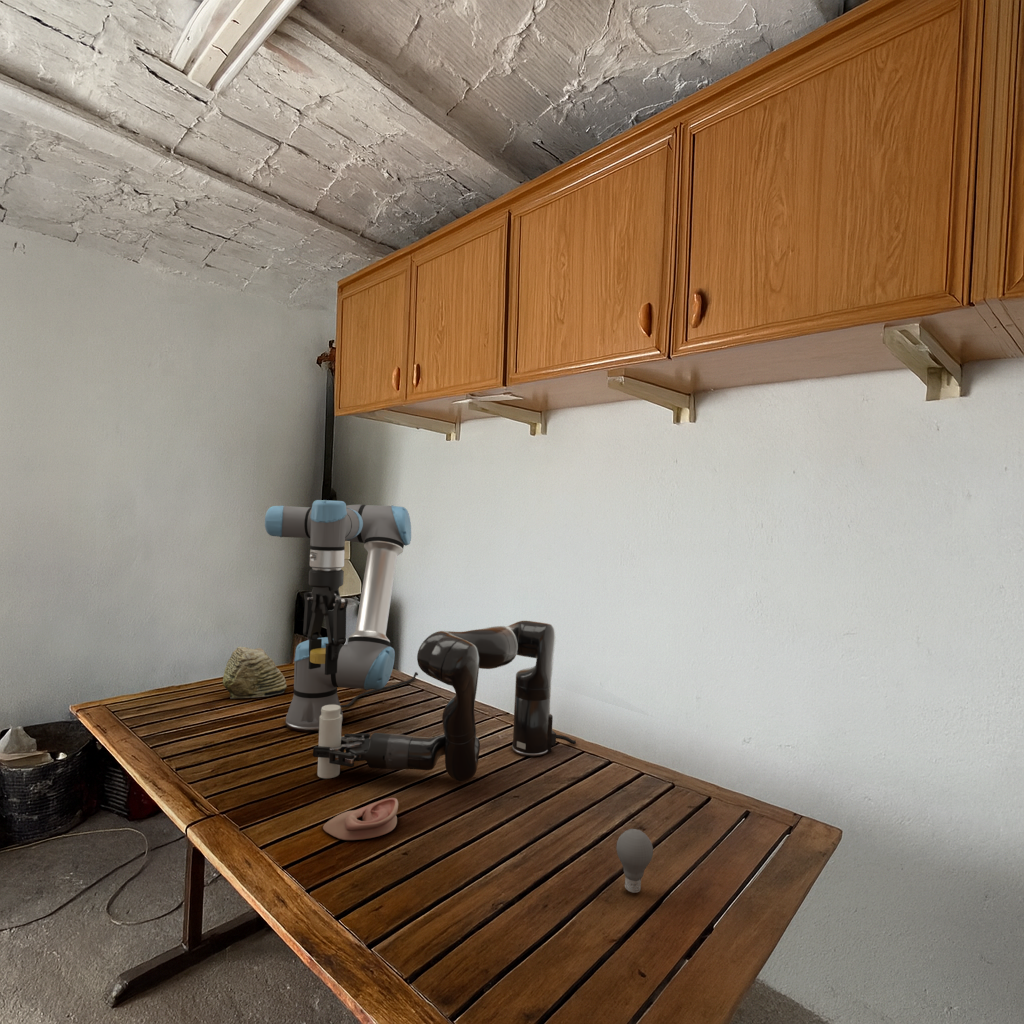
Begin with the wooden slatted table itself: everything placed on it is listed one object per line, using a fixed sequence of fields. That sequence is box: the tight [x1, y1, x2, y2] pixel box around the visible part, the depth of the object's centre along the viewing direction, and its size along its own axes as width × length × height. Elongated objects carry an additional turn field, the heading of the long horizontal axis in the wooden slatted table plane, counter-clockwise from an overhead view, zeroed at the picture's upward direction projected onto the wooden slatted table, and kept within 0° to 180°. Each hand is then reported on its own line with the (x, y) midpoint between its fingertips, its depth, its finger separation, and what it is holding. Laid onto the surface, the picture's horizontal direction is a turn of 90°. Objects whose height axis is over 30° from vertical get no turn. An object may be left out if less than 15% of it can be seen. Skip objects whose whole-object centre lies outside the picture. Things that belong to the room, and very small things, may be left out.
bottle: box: [316, 705, 343, 779], centre depth 145 cm, size 5×5×15 cm
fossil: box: [222, 646, 288, 699], centre depth 198 cm, size 9×18×15 cm, turn 132°
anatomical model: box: [322, 797, 399, 841], centre depth 122 cm, size 13×4×12 cm
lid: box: [310, 648, 326, 664], centre depth 143 cm, size 6×6×2 cm
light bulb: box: [615, 828, 654, 894], centre depth 106 cm, size 6×6×10 cm
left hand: (322, 670), depth 143 cm, fingers closed on lid, 6 cm apart
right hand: (318, 746), depth 145 cm, fingers closed on bottle, 5 cm apart
